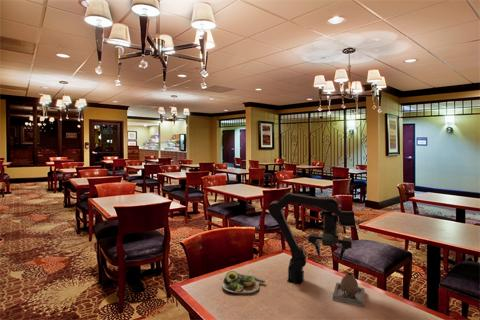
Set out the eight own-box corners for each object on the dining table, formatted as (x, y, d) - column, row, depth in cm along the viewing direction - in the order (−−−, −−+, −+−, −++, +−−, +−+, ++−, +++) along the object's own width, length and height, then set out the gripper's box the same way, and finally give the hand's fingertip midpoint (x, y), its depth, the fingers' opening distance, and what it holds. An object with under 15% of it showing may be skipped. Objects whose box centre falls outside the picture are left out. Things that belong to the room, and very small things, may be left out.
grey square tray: (332, 299, 117) (332, 295, 117) (335, 286, 128) (335, 282, 128) (363, 307, 112) (363, 302, 112) (364, 292, 123) (364, 288, 123)
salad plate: (264, 277, 138) (264, 267, 138) (265, 296, 121) (265, 286, 120) (225, 275, 140) (225, 266, 139) (220, 295, 122) (220, 284, 122)
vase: (361, 295, 119) (362, 275, 118) (350, 299, 115) (351, 278, 115) (347, 288, 125) (348, 268, 124) (336, 292, 121) (337, 272, 121)
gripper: (305, 227, 125) (305, 261, 126) (350, 232, 117) (350, 269, 118) (310, 221, 135) (310, 253, 136) (352, 225, 127) (352, 259, 128)
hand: (329, 258), depth 129 cm, fingers open, 9 cm apart
